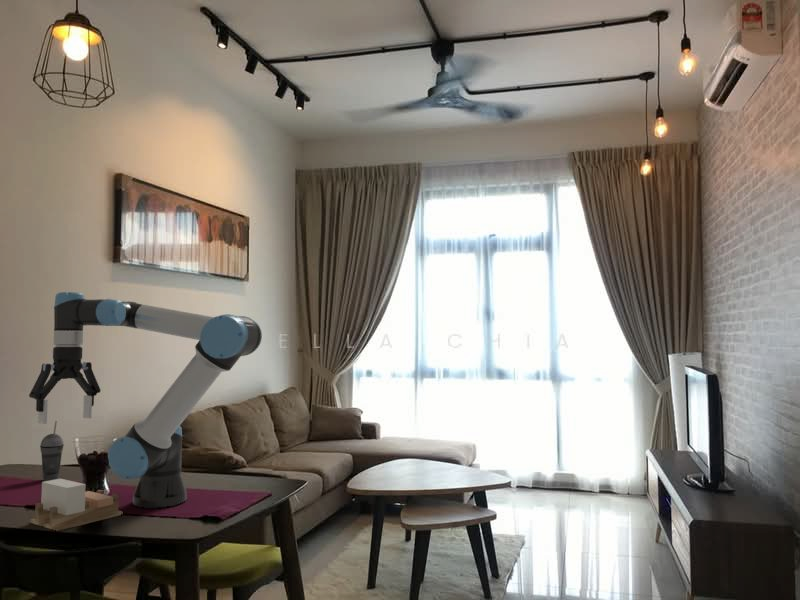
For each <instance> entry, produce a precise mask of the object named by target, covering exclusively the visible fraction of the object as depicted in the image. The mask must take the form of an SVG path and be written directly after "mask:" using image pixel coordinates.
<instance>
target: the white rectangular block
mask: <svg viewBox="0 0 800 600" xmlns="http://www.w3.org/2000/svg"><path fill="white" fill-rule="evenodd" d="M86 487H87V485H86V483H81V482H77V481H74V480H68V479H64V478H58V479H55V480H50V481H41V496H40V497H41V500H40V501H41V502H40V503H43V510H44V509H45V510H48V511H50V508H51V507H57V508H58V513H59V514H63V515H70V514H74V513H79V512H83V511H85V492H86Z"/></svg>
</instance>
